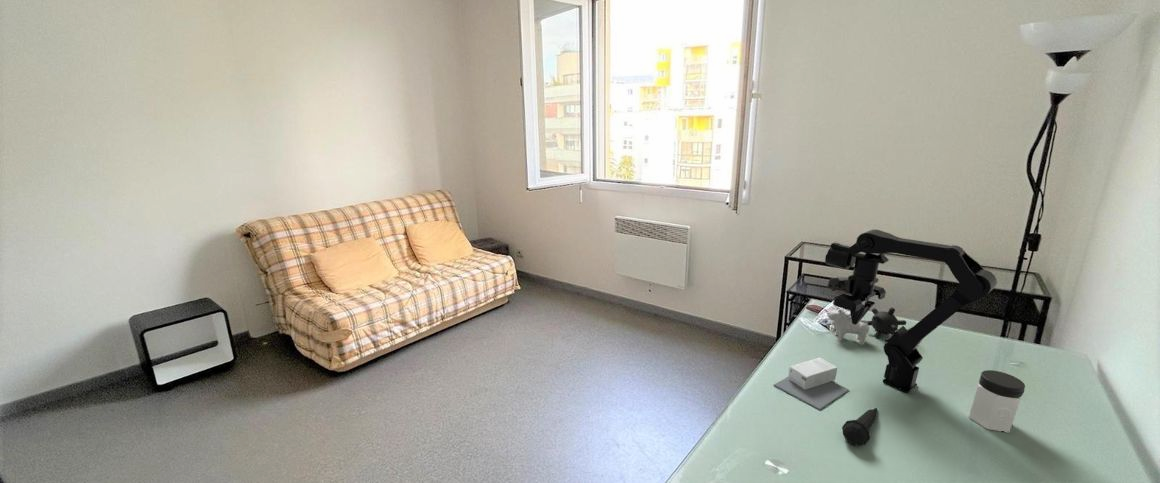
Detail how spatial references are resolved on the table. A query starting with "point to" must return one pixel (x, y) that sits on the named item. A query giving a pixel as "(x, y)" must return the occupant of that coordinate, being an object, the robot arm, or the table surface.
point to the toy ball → (885, 322)
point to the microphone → (859, 428)
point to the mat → (813, 392)
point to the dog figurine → (847, 325)
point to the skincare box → (812, 373)
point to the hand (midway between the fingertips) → (854, 323)
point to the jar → (996, 400)
